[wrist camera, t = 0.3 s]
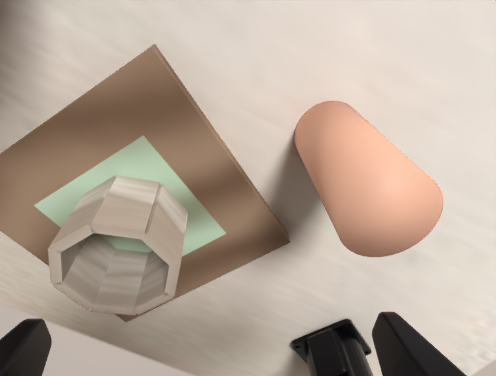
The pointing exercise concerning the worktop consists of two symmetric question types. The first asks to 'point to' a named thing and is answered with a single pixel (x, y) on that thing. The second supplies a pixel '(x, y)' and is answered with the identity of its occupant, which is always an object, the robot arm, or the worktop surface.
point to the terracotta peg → (366, 182)
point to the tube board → (172, 137)
